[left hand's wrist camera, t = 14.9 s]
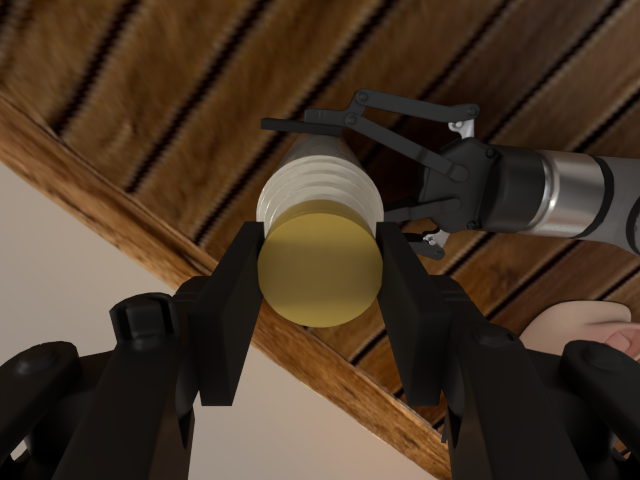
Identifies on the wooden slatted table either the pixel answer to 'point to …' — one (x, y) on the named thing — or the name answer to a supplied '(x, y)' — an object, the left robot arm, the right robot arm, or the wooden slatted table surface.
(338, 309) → the cap
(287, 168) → the bottle
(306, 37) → the wooden slatted table surface
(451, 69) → the wooden slatted table surface
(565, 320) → the anatomical model
